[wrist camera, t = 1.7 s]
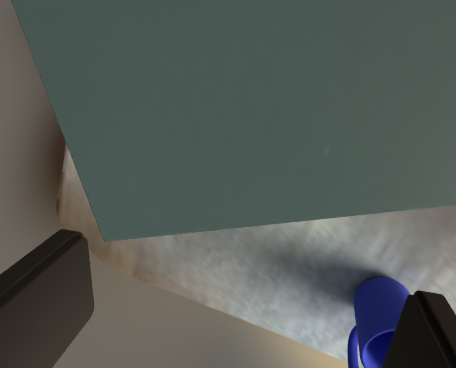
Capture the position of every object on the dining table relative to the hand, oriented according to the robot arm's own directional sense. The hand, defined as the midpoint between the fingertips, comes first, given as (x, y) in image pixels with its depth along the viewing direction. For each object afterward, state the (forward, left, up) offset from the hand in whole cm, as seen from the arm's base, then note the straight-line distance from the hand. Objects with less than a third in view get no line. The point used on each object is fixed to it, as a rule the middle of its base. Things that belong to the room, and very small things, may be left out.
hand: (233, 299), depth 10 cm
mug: (-8, +27, -31) cm, 42 cm away
